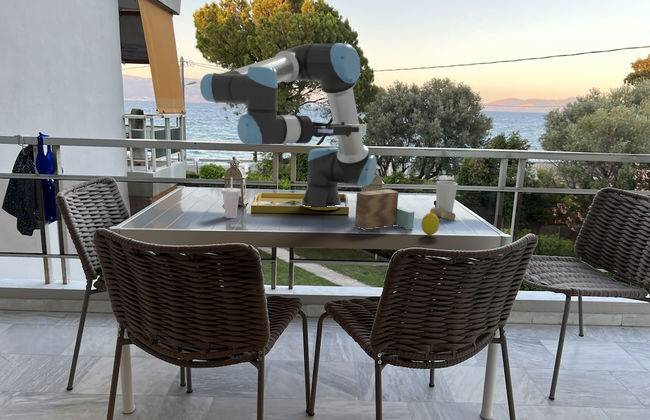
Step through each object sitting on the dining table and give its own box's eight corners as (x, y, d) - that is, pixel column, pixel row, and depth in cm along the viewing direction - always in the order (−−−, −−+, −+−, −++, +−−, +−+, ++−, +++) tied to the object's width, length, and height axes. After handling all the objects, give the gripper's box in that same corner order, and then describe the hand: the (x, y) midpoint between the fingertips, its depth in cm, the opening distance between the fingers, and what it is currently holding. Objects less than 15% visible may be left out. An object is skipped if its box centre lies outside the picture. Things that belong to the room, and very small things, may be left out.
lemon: (418, 233, 164) (420, 210, 162) (434, 233, 164) (437, 210, 162) (423, 238, 158) (425, 214, 156) (439, 238, 159) (442, 214, 157)
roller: (452, 222, 183) (456, 215, 184) (448, 218, 182) (452, 211, 182) (433, 216, 191) (437, 209, 192) (429, 212, 190) (433, 205, 190)
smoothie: (243, 215, 176) (243, 176, 173) (234, 220, 170) (234, 179, 167) (227, 213, 178) (227, 175, 175) (218, 217, 172) (217, 177, 169)
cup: (454, 216, 189) (458, 185, 186) (433, 214, 190) (436, 183, 187) (453, 211, 196) (457, 181, 193) (433, 210, 198) (436, 180, 195)
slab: (363, 230, 165) (366, 195, 162) (354, 226, 169) (356, 192, 166) (395, 225, 172) (398, 192, 169) (386, 222, 176) (388, 189, 173)
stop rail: (407, 229, 168) (408, 212, 166) (378, 218, 181) (379, 202, 179) (413, 228, 169) (414, 211, 167) (383, 217, 182) (384, 201, 180)
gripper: (283, 140, 140) (351, 139, 152) (306, 146, 129) (377, 144, 142) (283, 113, 138) (352, 114, 151) (307, 117, 128) (379, 117, 140)
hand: (364, 129), depth 146 cm, fingers closed
